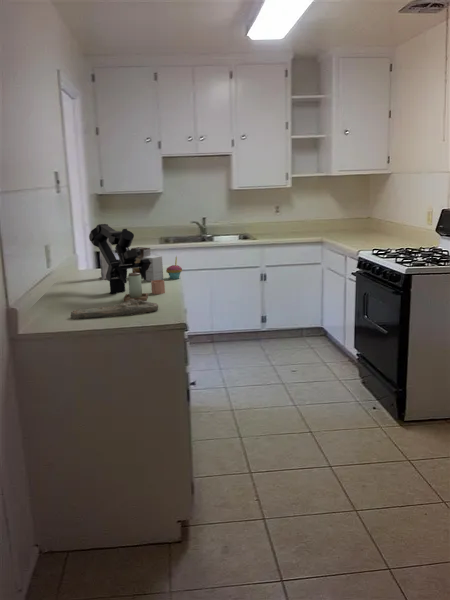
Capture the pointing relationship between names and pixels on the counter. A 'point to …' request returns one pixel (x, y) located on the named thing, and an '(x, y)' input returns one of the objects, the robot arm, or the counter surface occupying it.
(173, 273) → the cupcake
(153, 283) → the terracotta cup
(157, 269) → the supplement box
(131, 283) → the spice jar
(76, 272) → the counter surface
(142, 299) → the walnut tray
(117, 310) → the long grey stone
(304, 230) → the counter surface
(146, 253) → the coffee box
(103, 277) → the skyscraper
